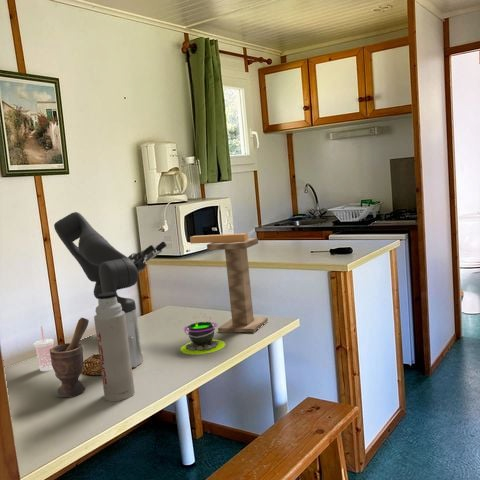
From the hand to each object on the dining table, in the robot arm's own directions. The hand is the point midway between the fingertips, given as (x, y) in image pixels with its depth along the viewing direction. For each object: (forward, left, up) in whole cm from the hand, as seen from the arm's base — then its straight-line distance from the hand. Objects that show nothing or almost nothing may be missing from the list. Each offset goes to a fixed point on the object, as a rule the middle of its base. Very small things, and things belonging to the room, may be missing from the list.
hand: (159, 245), depth 204 cm
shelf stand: (-12, -27, -32) cm, 44 cm away
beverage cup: (-31, +39, -32) cm, 59 cm away
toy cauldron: (-30, -12, -33) cm, 46 cm away
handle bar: (-9, -22, 0) cm, 24 cm away
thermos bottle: (-62, +13, -32) cm, 71 cm away
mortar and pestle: (-54, +26, -32) cm, 68 cm away
